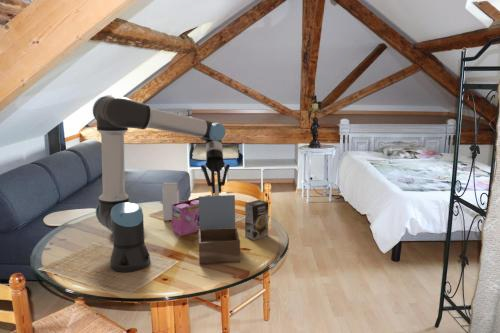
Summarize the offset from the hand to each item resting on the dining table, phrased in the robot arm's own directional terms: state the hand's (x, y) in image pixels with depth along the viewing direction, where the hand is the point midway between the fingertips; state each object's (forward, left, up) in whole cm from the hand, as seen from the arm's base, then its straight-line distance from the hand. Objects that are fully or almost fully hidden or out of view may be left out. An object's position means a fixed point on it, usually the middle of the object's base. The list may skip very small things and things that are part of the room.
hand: (217, 199), depth 175 cm
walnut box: (-6, -9, -21) cm, 24 cm away
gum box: (+5, +24, -21) cm, 32 cm away
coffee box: (+20, -4, -21) cm, 29 cm away
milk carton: (+4, +43, -21) cm, 48 cm away
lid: (-2, -3, -5) cm, 6 cm away
